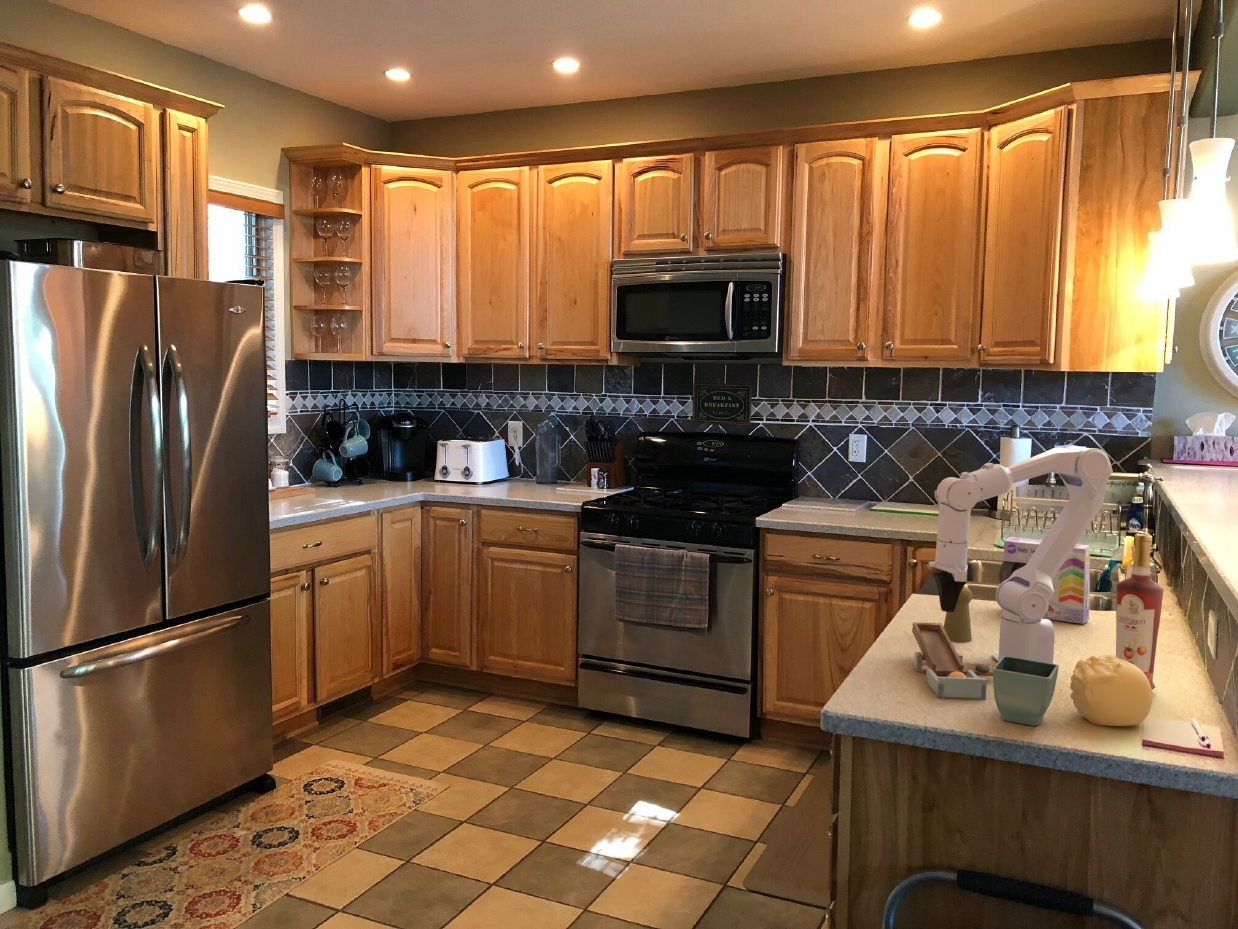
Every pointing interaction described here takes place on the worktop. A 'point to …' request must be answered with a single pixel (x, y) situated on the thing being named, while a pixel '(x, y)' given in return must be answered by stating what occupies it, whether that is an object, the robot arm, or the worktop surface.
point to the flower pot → (1023, 688)
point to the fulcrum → (918, 662)
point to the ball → (956, 674)
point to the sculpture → (1111, 691)
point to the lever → (943, 651)
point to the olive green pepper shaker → (959, 619)
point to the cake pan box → (1055, 578)
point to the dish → (957, 686)
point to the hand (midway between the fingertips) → (947, 611)
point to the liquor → (1139, 612)
